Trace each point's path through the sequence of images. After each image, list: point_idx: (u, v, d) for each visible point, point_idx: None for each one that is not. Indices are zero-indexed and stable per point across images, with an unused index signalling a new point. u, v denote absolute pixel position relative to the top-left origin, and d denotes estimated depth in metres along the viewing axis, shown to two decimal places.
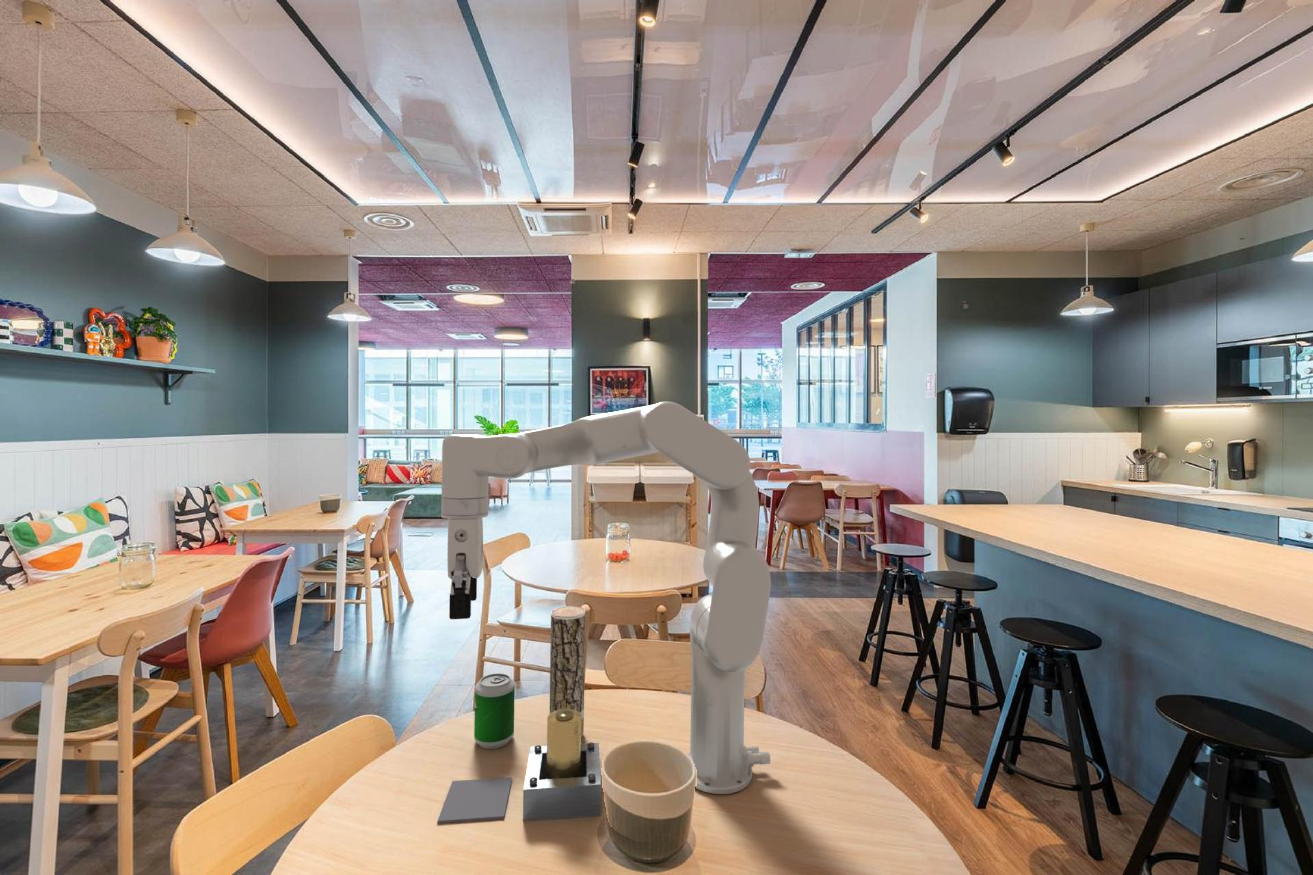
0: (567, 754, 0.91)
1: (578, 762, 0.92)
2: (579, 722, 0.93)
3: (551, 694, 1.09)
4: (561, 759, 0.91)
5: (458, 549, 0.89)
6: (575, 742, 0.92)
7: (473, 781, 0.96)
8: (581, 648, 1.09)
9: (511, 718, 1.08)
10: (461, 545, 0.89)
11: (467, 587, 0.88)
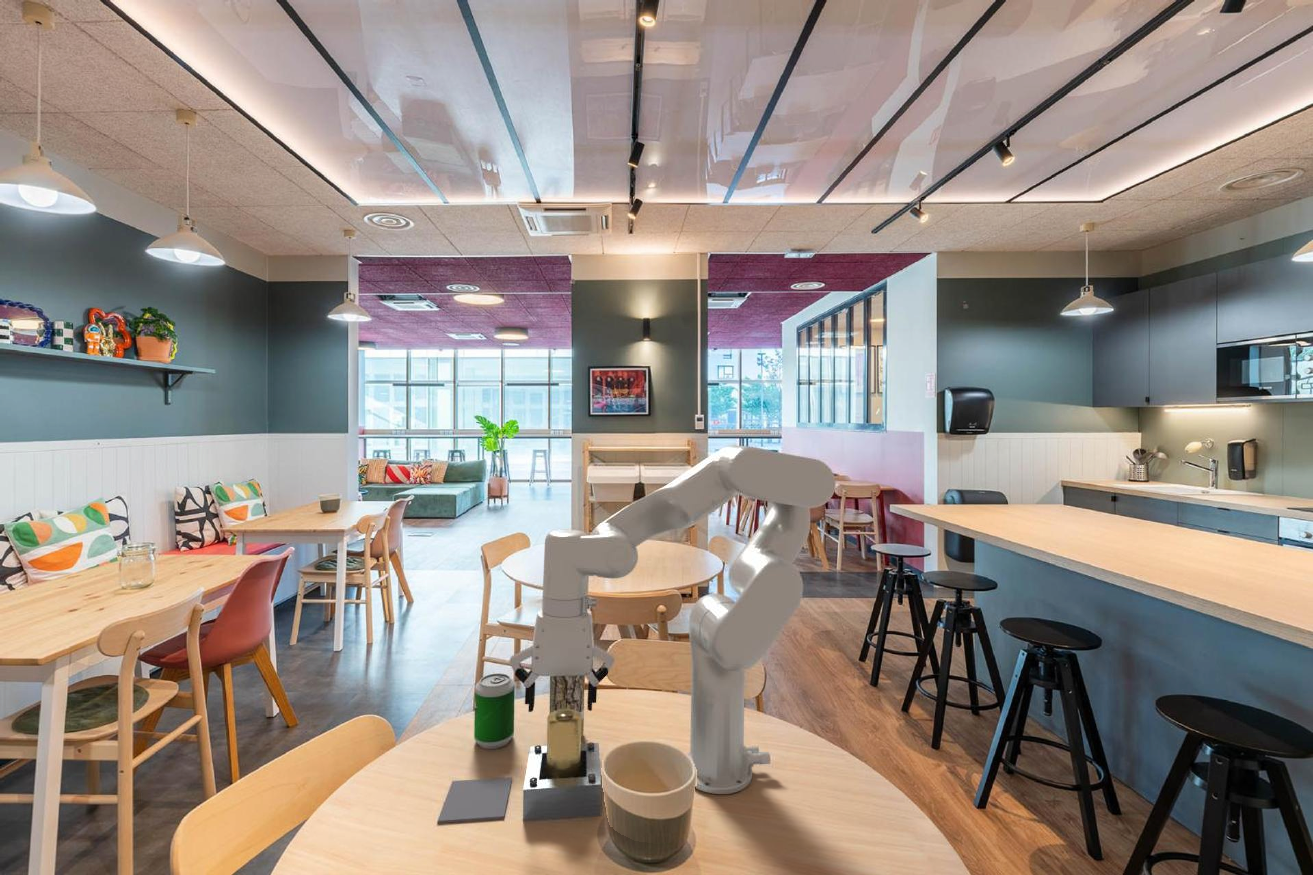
0: (567, 754, 0.91)
1: (578, 762, 0.92)
2: (579, 722, 0.93)
3: (551, 694, 1.09)
4: (561, 759, 0.91)
5: (593, 641, 0.93)
6: (575, 742, 0.92)
7: (473, 781, 0.96)
8: None
9: (511, 718, 1.08)
10: (593, 637, 0.94)
11: None
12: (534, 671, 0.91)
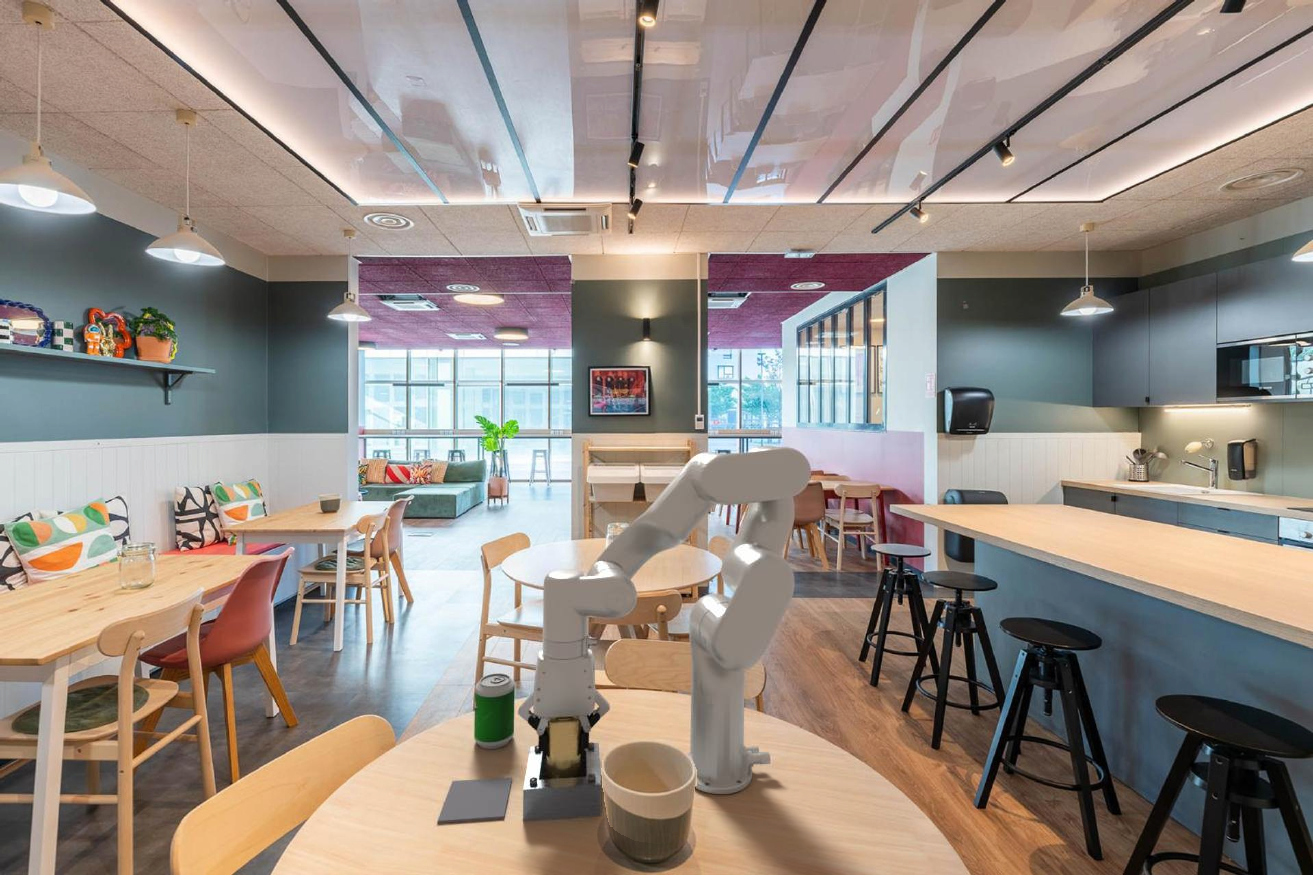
0: (567, 754, 0.91)
1: (578, 762, 0.92)
2: (579, 722, 0.93)
3: None
4: (561, 759, 0.91)
5: (594, 681, 0.94)
6: (575, 742, 0.92)
7: (473, 781, 0.96)
8: None
9: (511, 718, 1.08)
10: (594, 676, 0.94)
11: None
12: (536, 713, 0.91)
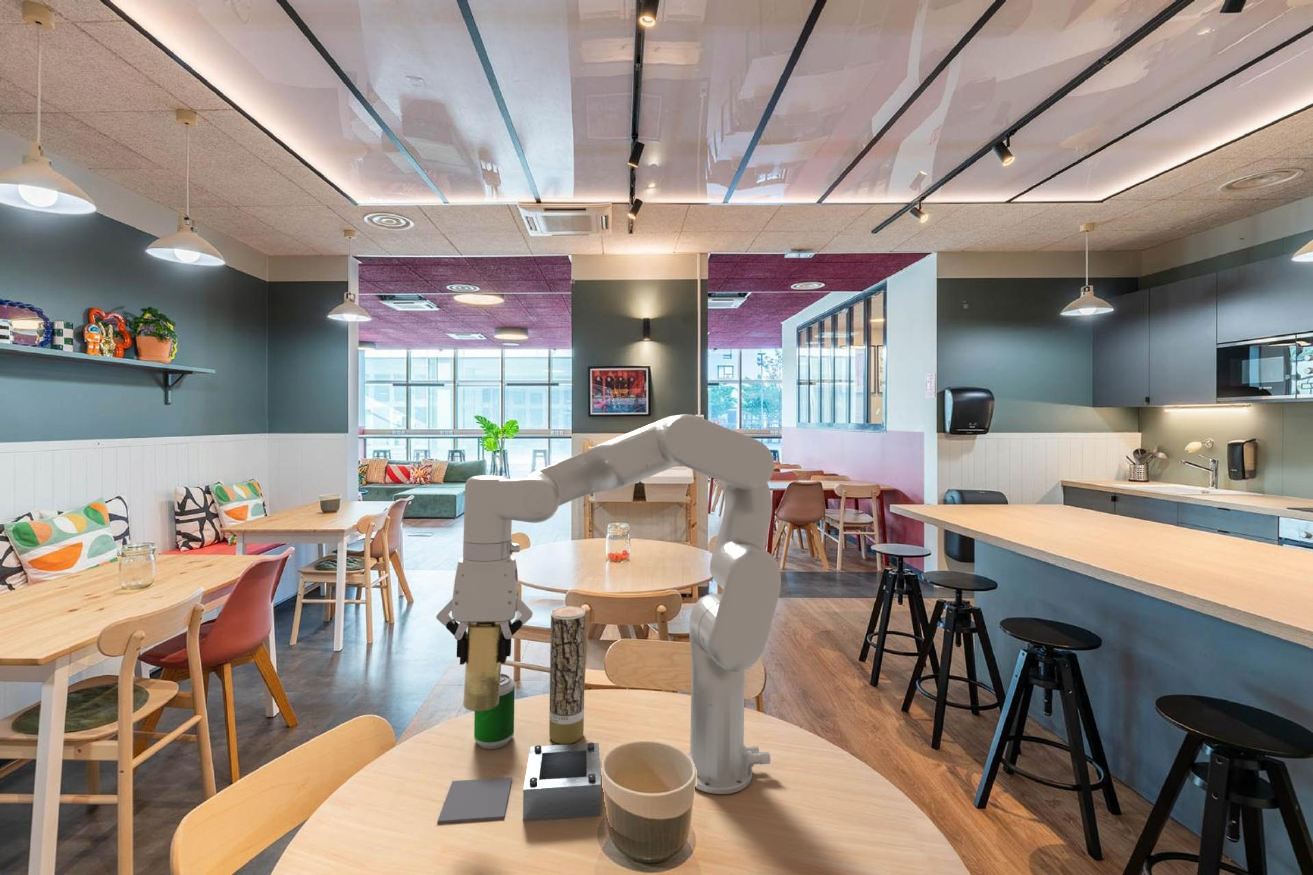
0: (485, 659, 0.89)
1: (497, 669, 0.91)
2: (500, 629, 0.91)
3: (551, 694, 1.09)
4: (479, 664, 0.89)
5: (516, 588, 0.92)
6: (494, 648, 0.90)
7: (473, 781, 0.96)
8: (581, 648, 1.09)
9: (511, 718, 1.08)
10: (517, 583, 0.92)
11: None
12: (454, 617, 0.89)
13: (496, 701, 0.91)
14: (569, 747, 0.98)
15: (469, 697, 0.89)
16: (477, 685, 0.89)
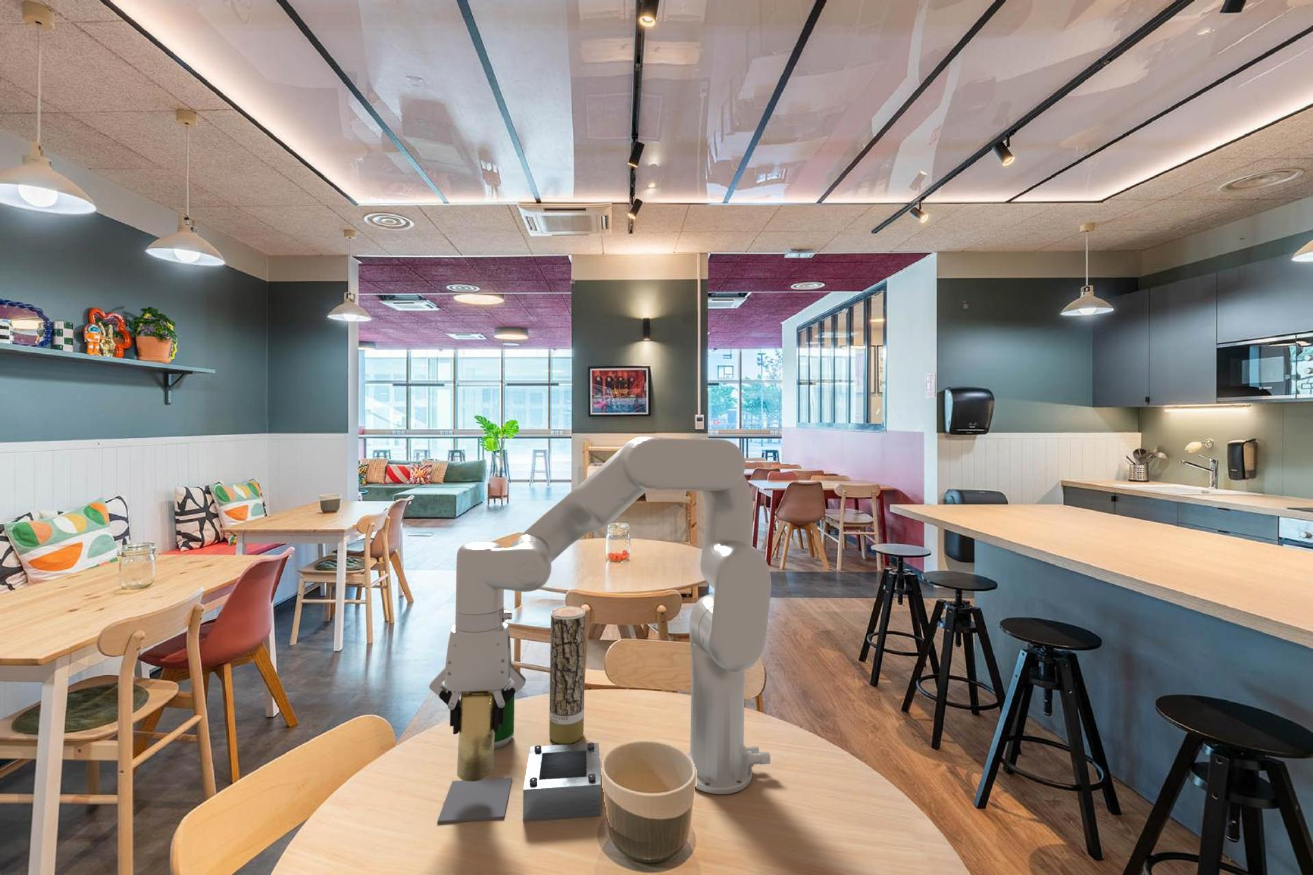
0: (478, 729, 0.89)
1: (490, 738, 0.90)
2: (493, 697, 0.91)
3: (551, 694, 1.09)
4: (472, 734, 0.89)
5: (509, 655, 0.92)
6: (487, 718, 0.90)
7: (473, 781, 0.96)
8: (581, 648, 1.09)
9: (511, 718, 1.08)
10: (509, 651, 0.92)
11: None
12: (447, 687, 0.89)
13: (490, 770, 0.91)
14: (569, 747, 0.98)
15: (463, 767, 0.89)
16: (470, 756, 0.89)
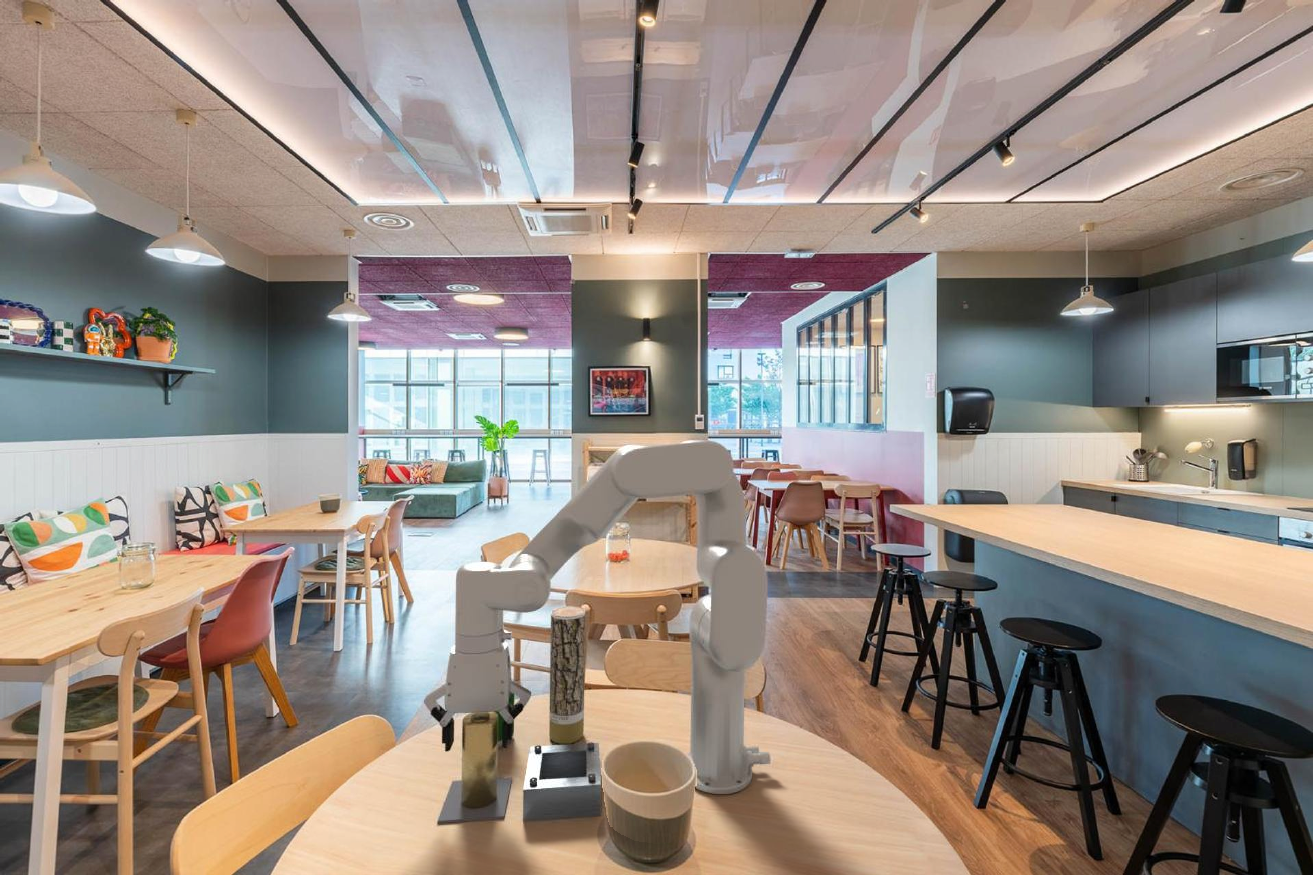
0: (481, 757, 0.89)
1: (493, 765, 0.91)
2: (495, 724, 0.91)
3: (551, 694, 1.09)
4: (475, 761, 0.89)
5: (509, 676, 0.92)
6: (490, 744, 0.90)
7: None
8: (581, 648, 1.09)
9: None
10: (509, 671, 0.92)
11: None
12: (447, 708, 0.89)
13: (494, 796, 0.91)
14: (569, 747, 0.98)
15: (467, 795, 0.89)
16: (473, 783, 0.89)
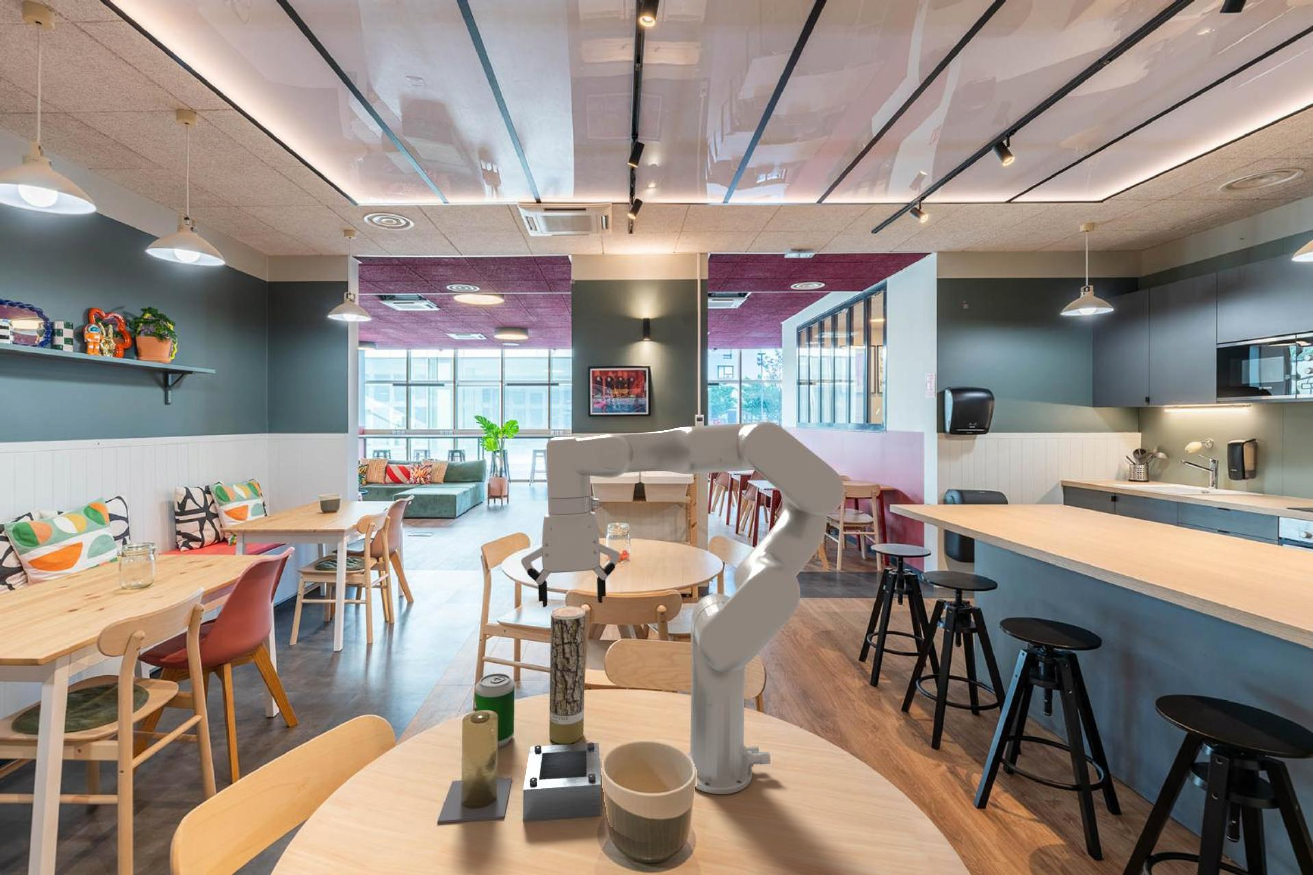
0: (481, 757, 0.89)
1: (493, 765, 0.91)
2: (494, 724, 0.91)
3: (551, 694, 1.09)
4: (475, 761, 0.89)
5: None
6: (489, 744, 0.90)
7: None
8: (581, 648, 1.09)
9: (511, 718, 1.08)
10: None
11: None
12: (545, 568, 0.96)
13: (494, 796, 0.91)
14: (569, 747, 0.98)
15: (467, 795, 0.89)
16: (473, 783, 0.89)
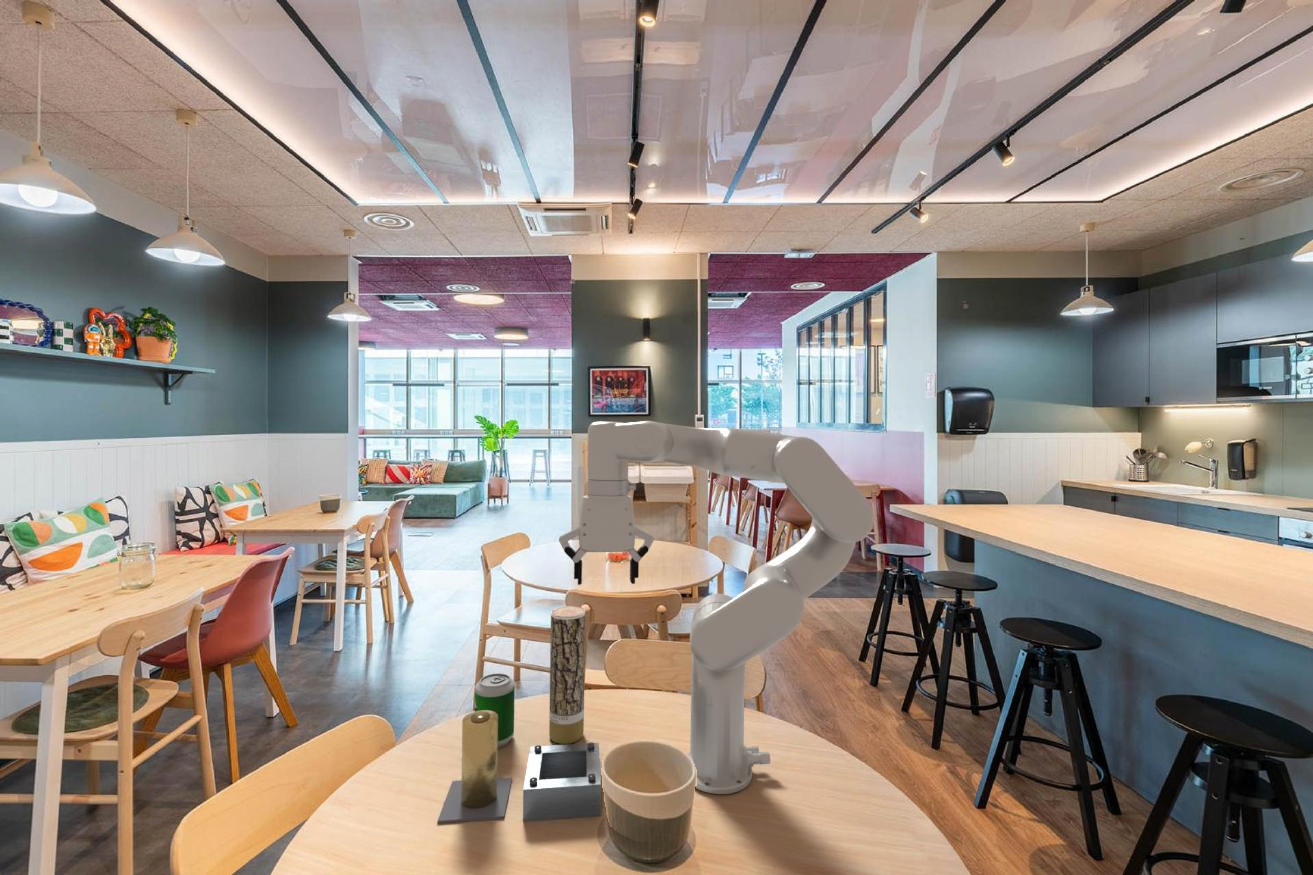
0: (481, 757, 0.89)
1: (493, 765, 0.91)
2: (494, 724, 0.91)
3: (551, 694, 1.09)
4: (475, 761, 0.89)
5: None
6: (490, 744, 0.90)
7: None
8: (581, 648, 1.09)
9: (511, 718, 1.08)
10: None
11: None
12: (582, 547, 1.00)
13: (494, 796, 0.91)
14: (569, 747, 0.98)
15: (467, 795, 0.89)
16: (473, 783, 0.89)
